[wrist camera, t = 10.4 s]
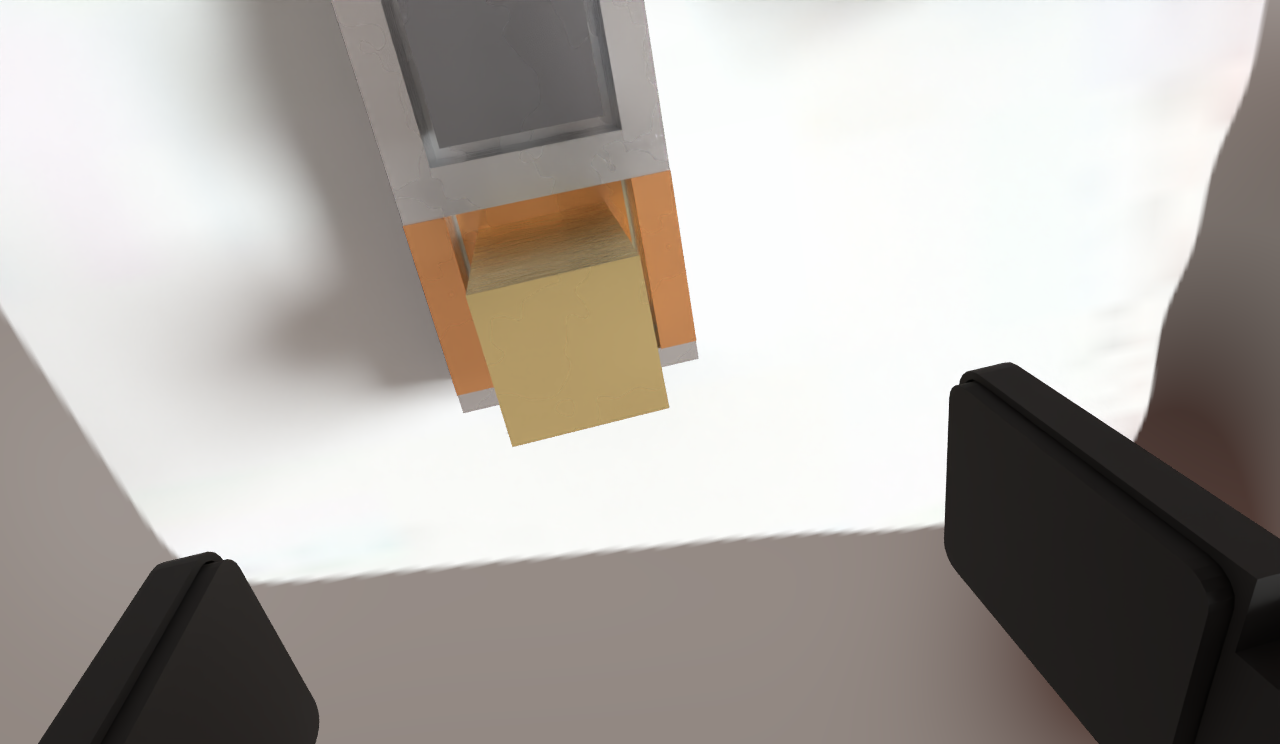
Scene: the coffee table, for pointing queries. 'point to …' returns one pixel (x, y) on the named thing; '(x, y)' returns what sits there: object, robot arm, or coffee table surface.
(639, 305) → the gold brushed block
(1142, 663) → the robot arm
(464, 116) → the grey brushed cube
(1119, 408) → the coffee table surface
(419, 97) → the rail
